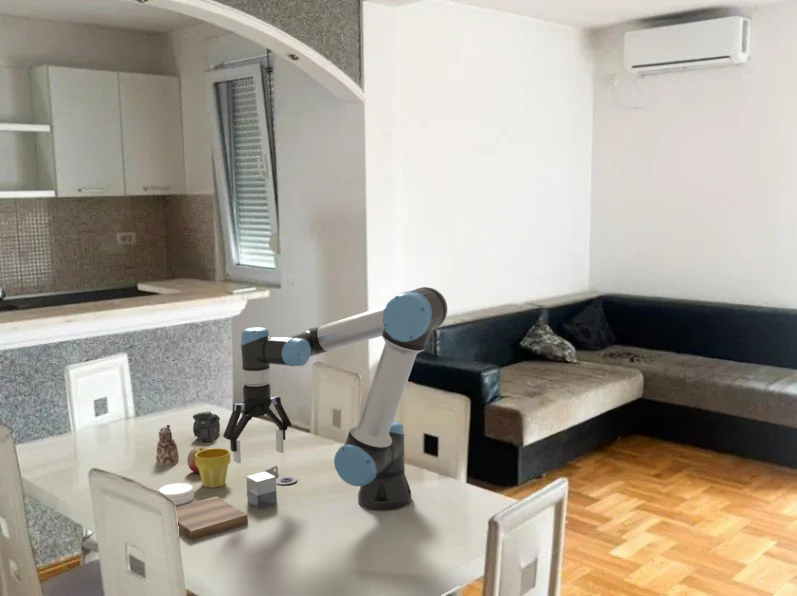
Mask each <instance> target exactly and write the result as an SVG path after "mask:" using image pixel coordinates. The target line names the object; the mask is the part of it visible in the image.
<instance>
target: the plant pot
mask: <svg viewBox="0 0 797 596" xmlns="http://www.w3.org/2000/svg"><path fill="white" fill-rule="evenodd" d="M195 463H196V466H197V467H198V469H199V473H198V474H199V476H200V479H201V483H202V485H203V487H205V488H208V489H209V488H211V489H212V488H219V487H222V486H224V485H225V484H226V480H227V475H228V468H229V465H230V463H231V450H229V449H226V448H221V447H220V448H219V447H217V448H215V447H214V448H208V449H206V450H202V451H199V452H197V453H196V454H195Z"/></svg>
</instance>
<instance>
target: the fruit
mask: <svg viewBox="0 0 797 596" xmlns="http://www.w3.org/2000/svg"><path fill="white" fill-rule="evenodd" d="M206 449H209V448H208V447H206V448H205V447H204V446H196V447H193V448H191V450H190V451H189V453H188V455H187V461H186V462H187V466H188V467H189V469H190V471H192V472H193V473H196V474H200V473H199V469H198V467H197V466H196V463H195V454H196V453H197V452H199V451H202V450H206Z"/></svg>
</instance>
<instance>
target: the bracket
mask: <svg viewBox="0 0 797 596" xmlns="http://www.w3.org/2000/svg"><path fill="white" fill-rule="evenodd" d="M262 472H267V473H269V474H271V475H273V476H275V477H276V485H280V486H284V485H286V486H287V485H291V484H294V483H297V481H298V478H297V477H293V476H286V475H285V476H284V475H282V476H280V477H277V476H279V470H278V465H274V466H272V467H269V468H267V469H265V470H263V471H262Z"/></svg>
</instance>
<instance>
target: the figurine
mask: <svg viewBox="0 0 797 596" xmlns="http://www.w3.org/2000/svg"><path fill="white" fill-rule="evenodd" d="M158 438H159V441H158V442H157V445H156V457H155V460H156V464H158V465H159V466H171V465H175V464H177V463H179V458H180V457H179V456H180V455H179V450H178V449H179V448H178V446H177V443H176V441H175V440H174V439H173V435H172V430H171V426H170V424H166V426H163V427H161V428H160V430H159V431H158Z"/></svg>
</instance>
